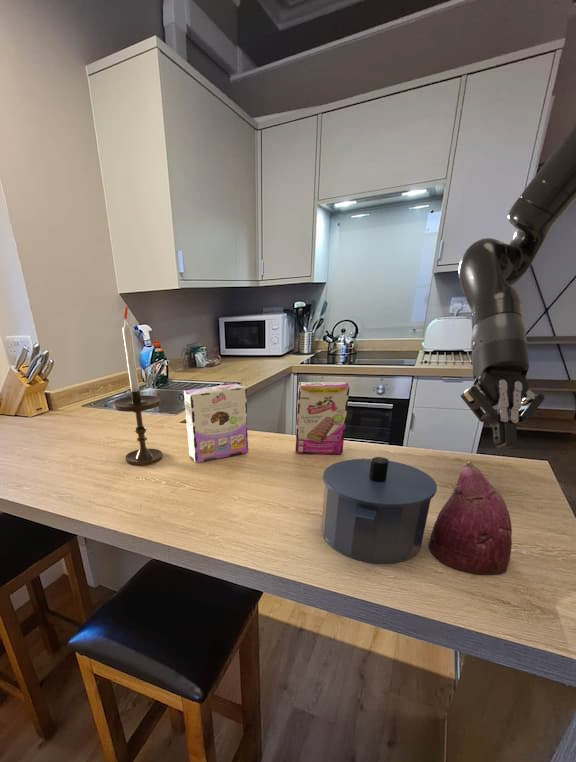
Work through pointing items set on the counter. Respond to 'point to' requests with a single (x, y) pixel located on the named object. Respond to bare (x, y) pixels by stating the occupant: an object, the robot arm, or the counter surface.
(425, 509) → the pot
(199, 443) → the candy box
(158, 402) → the candlestick
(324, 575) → the counter surface
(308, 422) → the candy bar box
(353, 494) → the pot lid
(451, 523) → the vegetable
